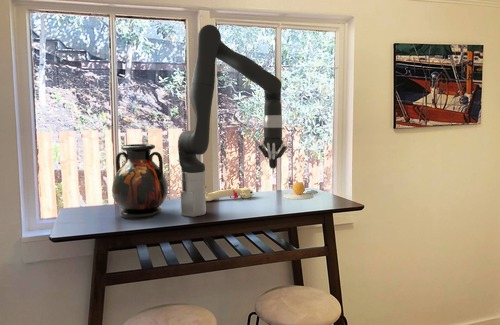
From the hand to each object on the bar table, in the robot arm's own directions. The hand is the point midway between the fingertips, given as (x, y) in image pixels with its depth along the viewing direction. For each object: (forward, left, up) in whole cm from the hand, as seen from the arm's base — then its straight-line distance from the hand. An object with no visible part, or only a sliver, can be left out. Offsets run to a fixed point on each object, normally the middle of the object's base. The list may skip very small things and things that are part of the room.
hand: (273, 168), depth 179 cm
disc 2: (+39, 0, -17) cm, 43 cm away
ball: (+31, +2, -14) cm, 34 cm away
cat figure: (+6, +27, -18) cm, 32 cm away
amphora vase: (-34, +42, -17) cm, 57 cm away
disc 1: (+27, 0, -17) cm, 32 cm away
